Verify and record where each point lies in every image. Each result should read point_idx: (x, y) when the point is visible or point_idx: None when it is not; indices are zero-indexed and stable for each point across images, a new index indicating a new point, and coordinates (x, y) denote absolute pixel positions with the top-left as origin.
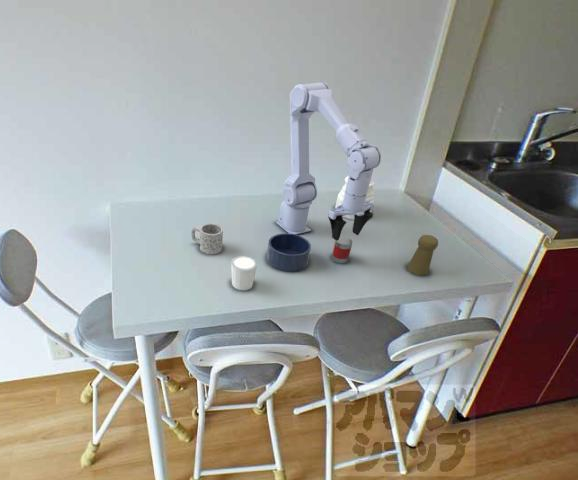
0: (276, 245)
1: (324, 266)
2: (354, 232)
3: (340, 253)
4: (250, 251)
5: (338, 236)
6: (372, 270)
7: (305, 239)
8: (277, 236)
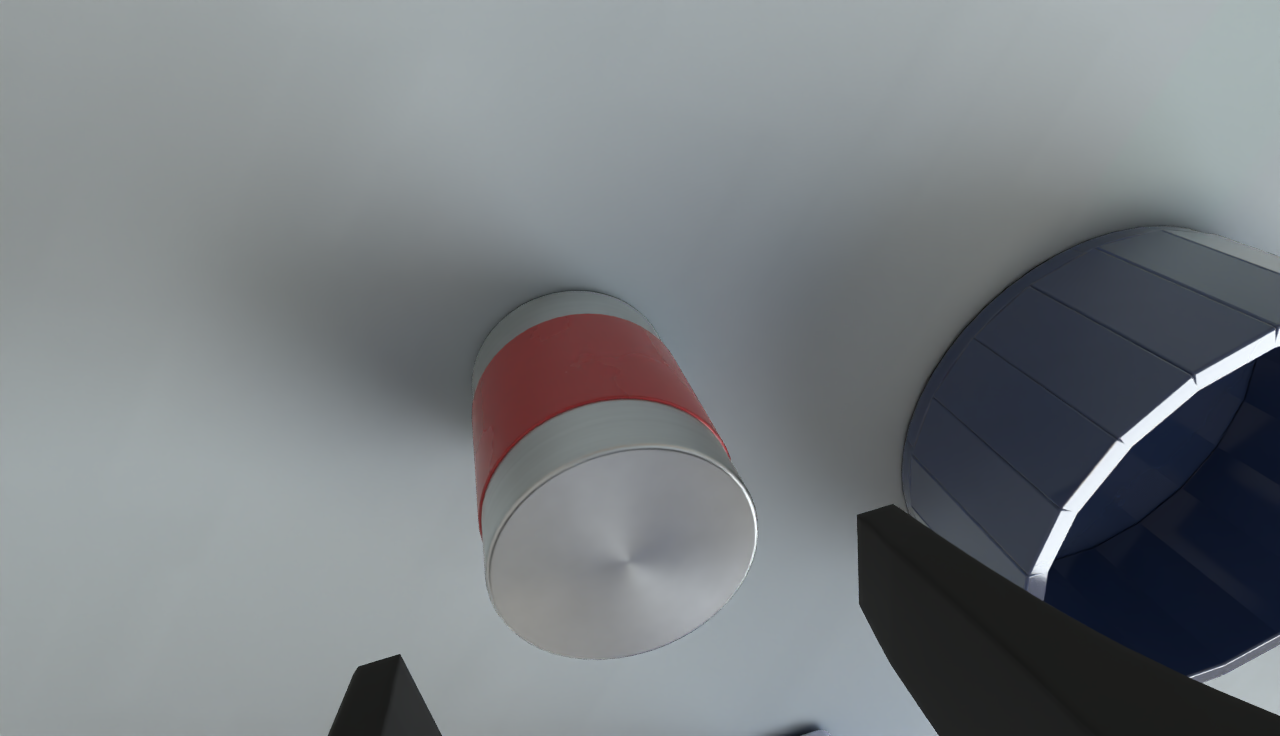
0: (1119, 580)
1: (823, 264)
2: (425, 722)
3: (671, 370)
4: None
5: (953, 554)
6: (191, 44)
7: None
8: (1205, 657)
